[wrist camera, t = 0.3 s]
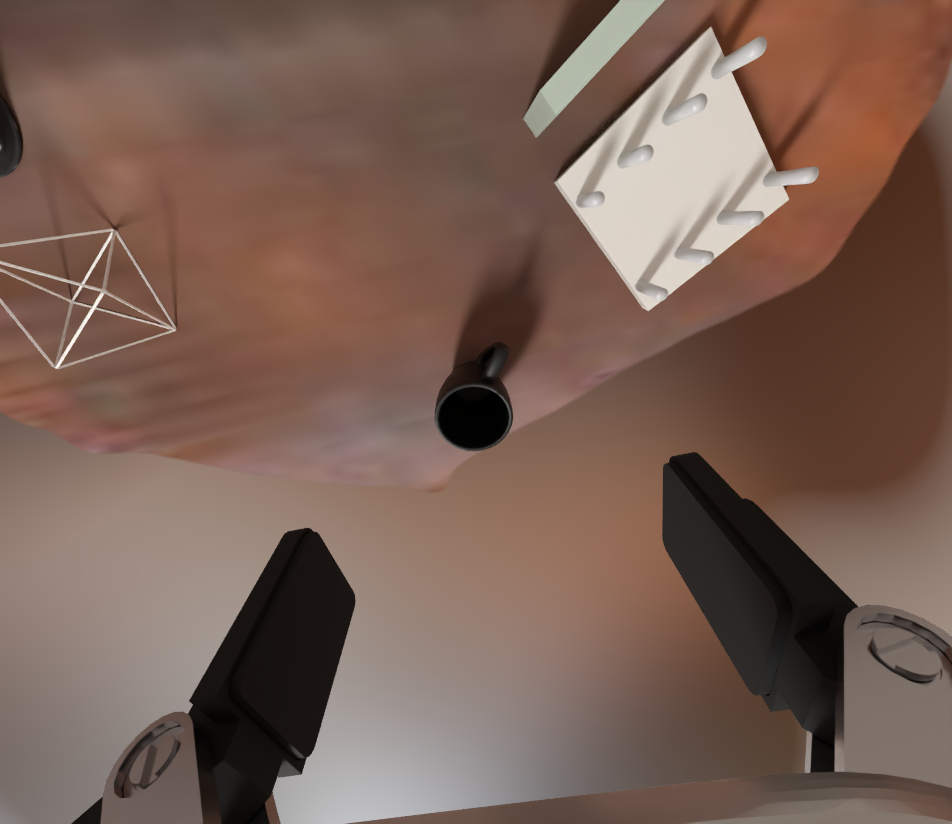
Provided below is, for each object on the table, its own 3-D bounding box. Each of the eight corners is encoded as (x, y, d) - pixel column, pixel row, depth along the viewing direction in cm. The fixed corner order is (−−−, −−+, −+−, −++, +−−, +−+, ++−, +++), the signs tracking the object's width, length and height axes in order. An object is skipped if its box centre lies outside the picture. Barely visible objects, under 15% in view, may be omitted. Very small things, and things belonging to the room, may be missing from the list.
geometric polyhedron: (105, 347, 44) (25, 377, 36) (34, 248, 39) (-77, 258, 31) (202, 324, 43) (142, 350, 35) (143, 221, 38) (57, 223, 30)
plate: (536, 137, 35) (556, 116, 27) (523, 118, 35) (539, 90, 27) (666, -2, 31) (735, -76, 23) (654, -28, 30) (721, -113, 22)
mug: (530, 340, 45) (545, 369, 36) (488, 419, 50) (492, 461, 41) (468, 311, 43) (468, 335, 34) (430, 397, 48) (422, 436, 40)
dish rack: (553, 182, 37) (569, 176, 31) (700, 34, 32) (752, -5, 26) (642, 308, 43) (669, 322, 37) (777, 199, 38) (833, 197, 32)
